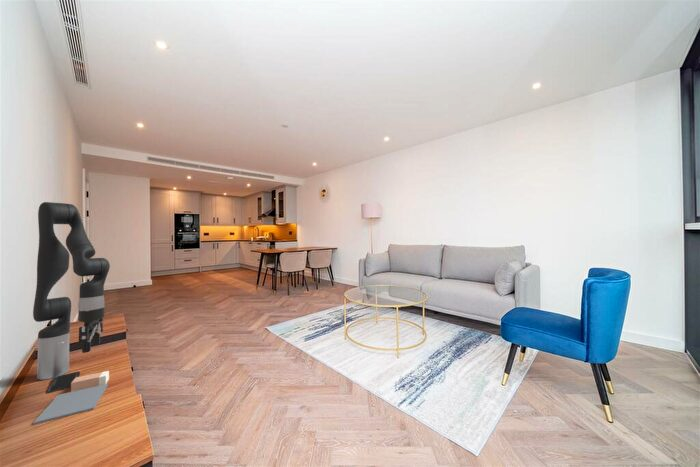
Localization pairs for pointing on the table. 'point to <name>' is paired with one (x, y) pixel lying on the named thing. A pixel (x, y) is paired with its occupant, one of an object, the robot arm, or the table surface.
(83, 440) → the table surface
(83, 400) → the mat
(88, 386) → the white-tipped pink eraser
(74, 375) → the phone
